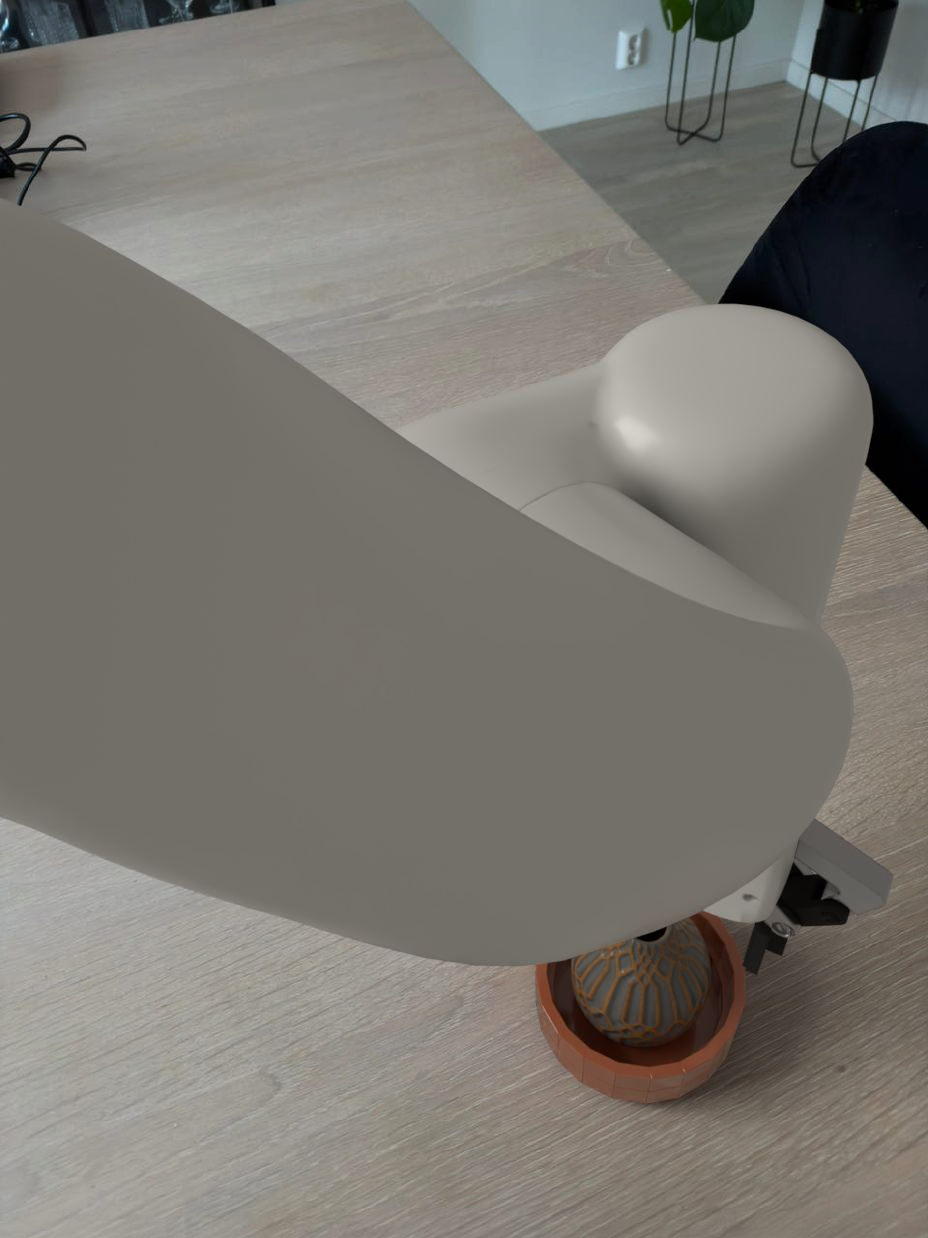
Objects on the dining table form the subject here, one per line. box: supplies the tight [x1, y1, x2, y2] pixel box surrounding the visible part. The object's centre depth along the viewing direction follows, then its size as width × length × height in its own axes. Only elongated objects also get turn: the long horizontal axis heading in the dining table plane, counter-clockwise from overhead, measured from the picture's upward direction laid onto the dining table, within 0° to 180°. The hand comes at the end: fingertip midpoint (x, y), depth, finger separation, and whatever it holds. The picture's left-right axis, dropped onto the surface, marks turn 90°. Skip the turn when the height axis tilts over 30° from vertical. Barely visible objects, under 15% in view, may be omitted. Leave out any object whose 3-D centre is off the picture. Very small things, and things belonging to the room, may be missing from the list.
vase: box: [571, 917, 711, 1048], centre depth 54 cm, size 7×7×9 cm
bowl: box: [534, 910, 747, 1104], centre depth 56 cm, size 10×10×4 cm
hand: (656, 900), depth 50 cm, fingers open, 9 cm apart
